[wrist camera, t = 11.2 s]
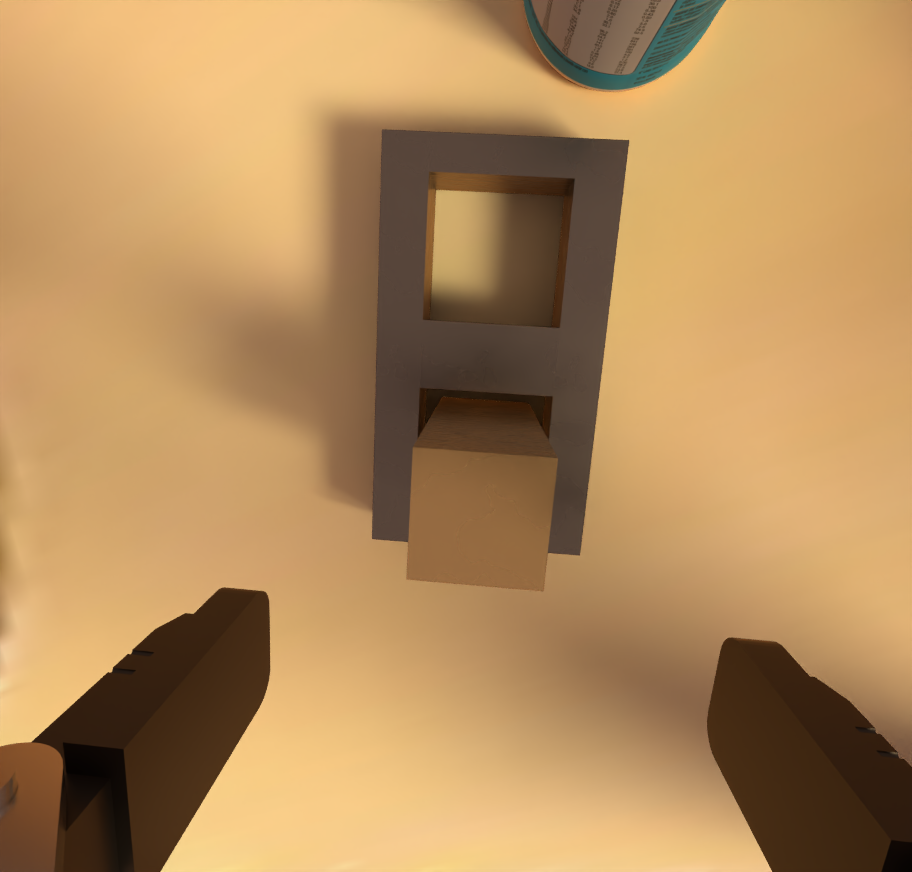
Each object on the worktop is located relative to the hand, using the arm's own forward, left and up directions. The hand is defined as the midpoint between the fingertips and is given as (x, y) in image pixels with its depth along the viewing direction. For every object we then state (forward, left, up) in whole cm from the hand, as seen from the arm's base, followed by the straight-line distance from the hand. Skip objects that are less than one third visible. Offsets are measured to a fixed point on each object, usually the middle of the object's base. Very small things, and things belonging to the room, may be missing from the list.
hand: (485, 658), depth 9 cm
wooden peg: (0, 0, -18) cm, 18 cm away
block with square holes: (0, -4, -18) cm, 19 cm away
